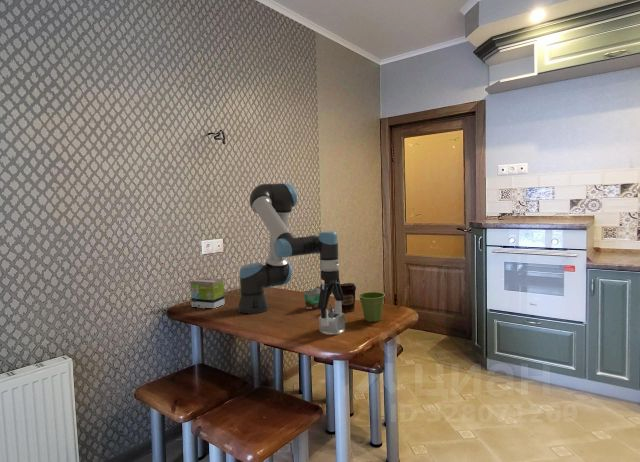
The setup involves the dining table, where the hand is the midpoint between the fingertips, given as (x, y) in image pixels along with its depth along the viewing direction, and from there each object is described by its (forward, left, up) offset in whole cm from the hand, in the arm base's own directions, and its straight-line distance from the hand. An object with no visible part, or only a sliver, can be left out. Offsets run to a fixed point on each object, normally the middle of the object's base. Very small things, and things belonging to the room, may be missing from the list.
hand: (332, 320), depth 159 cm
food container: (-22, +29, -4) cm, 37 cm away
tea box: (-81, +16, -4) cm, 83 cm away
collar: (0, 0, -4) cm, 4 cm away
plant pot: (+11, +19, -4) cm, 22 cm away
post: (0, 0, -4) cm, 4 cm away
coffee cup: (-5, +30, -4) cm, 31 cm away
